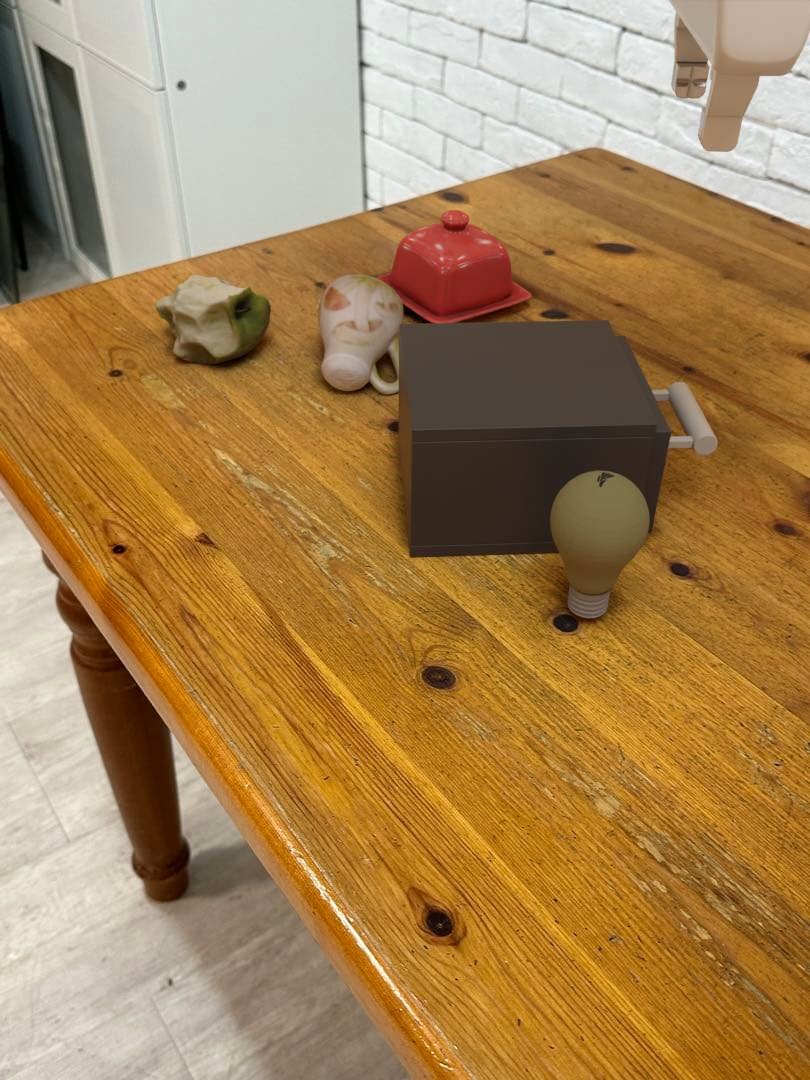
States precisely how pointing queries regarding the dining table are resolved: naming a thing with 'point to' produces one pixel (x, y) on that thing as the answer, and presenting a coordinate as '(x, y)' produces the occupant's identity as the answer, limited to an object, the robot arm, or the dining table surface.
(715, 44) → the robot arm
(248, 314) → the fruit
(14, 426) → the dining table surface
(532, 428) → the cabinet
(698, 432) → the drawer
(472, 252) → the butter dish
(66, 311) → the dining table surface
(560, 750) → the dining table surface
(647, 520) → the light bulb
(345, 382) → the mug
